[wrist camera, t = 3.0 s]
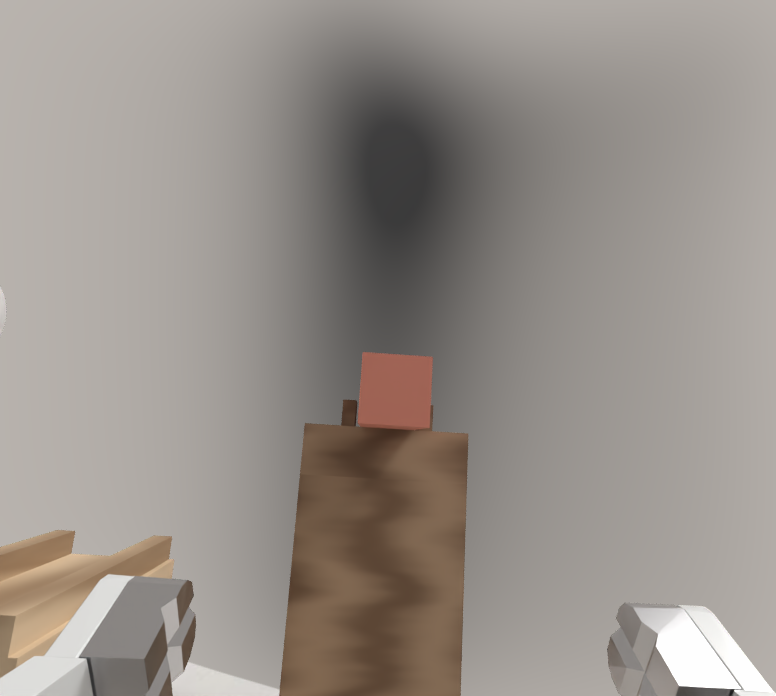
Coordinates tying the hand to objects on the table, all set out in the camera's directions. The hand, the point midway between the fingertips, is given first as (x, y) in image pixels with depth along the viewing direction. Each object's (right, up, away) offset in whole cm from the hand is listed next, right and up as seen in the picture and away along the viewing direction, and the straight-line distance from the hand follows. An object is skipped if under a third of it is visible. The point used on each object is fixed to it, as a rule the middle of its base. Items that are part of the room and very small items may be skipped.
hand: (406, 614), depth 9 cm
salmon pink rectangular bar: (0, 0, +22) cm, 22 cm away
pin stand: (-2, -26, +21) cm, 34 cm away
